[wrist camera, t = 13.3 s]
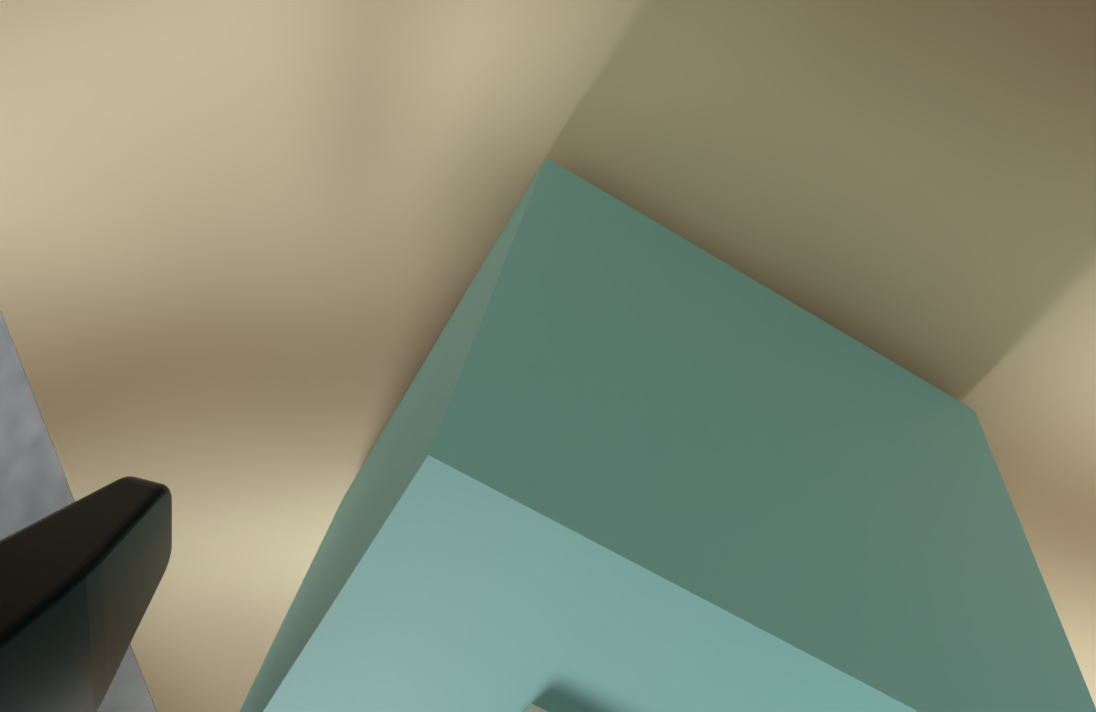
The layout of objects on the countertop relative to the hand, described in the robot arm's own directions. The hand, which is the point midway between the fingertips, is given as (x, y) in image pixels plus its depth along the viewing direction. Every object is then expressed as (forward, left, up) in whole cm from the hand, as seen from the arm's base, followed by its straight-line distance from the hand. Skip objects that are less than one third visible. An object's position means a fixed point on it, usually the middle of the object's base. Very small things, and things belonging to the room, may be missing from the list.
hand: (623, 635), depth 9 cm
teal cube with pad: (0, 0, -3) cm, 3 cm away
